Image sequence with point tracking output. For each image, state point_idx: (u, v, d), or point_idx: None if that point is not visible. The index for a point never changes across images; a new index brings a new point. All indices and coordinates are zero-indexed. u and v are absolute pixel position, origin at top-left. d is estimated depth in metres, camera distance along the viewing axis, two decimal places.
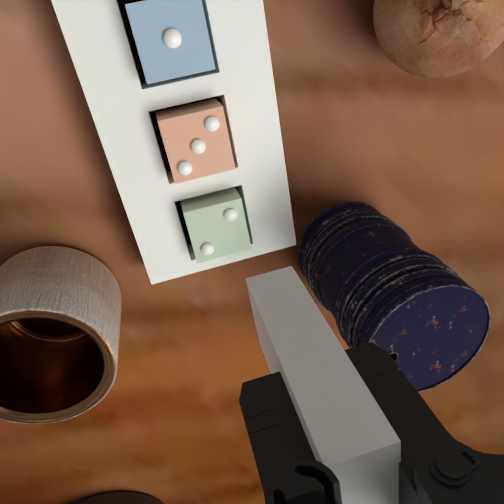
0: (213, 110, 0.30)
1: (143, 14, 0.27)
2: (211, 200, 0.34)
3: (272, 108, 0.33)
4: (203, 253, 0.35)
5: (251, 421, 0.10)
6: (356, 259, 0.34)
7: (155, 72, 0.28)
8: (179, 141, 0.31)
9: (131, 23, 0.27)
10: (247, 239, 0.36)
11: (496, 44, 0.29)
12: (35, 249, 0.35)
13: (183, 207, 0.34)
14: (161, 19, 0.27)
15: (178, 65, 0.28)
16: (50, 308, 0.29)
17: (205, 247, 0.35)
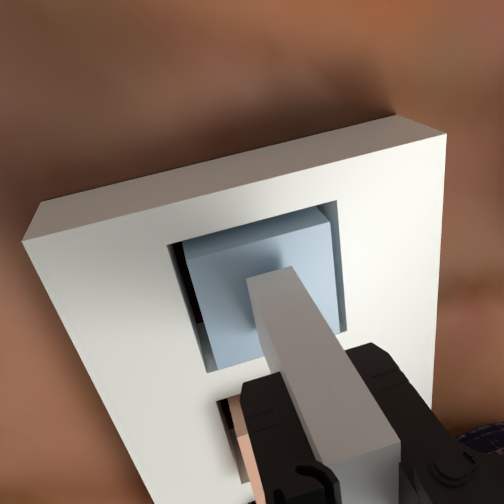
0: None
1: (219, 272, 0.14)
2: None
3: (425, 365, 0.19)
4: None
5: (251, 421, 0.10)
6: None
7: (234, 351, 0.15)
8: None
9: (196, 287, 0.14)
10: None
11: None
12: None
13: None
14: (253, 275, 0.14)
15: None
16: None
17: None
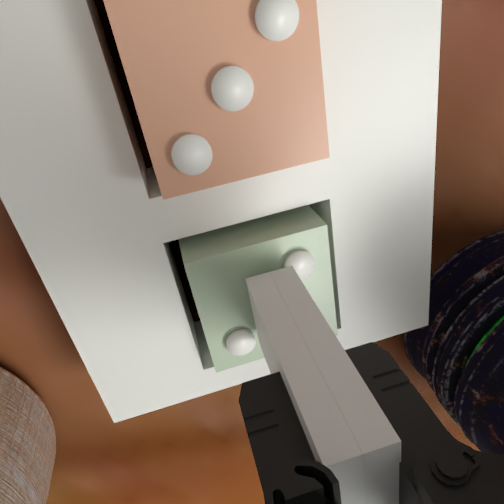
0: None
1: None
2: (252, 228, 0.14)
3: None
4: (230, 350, 0.15)
5: (250, 421, 0.10)
6: None
7: None
8: (176, 72, 0.10)
9: None
10: (331, 316, 0.16)
11: None
12: None
13: (184, 247, 0.14)
14: None
15: None
16: None
17: (236, 339, 0.15)
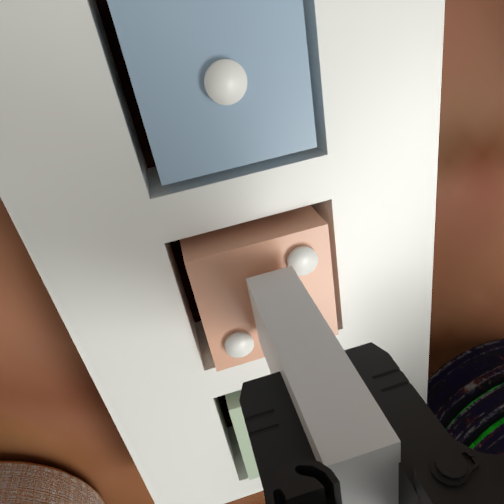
0: (307, 233, 0.14)
1: (154, 25, 0.10)
2: None
3: (425, 220, 0.15)
4: None
5: (251, 421, 0.10)
6: None
7: (181, 159, 0.12)
8: (231, 297, 0.14)
9: (124, 47, 0.10)
10: None
11: None
12: None
13: None
14: (200, 36, 0.11)
15: (236, 142, 0.12)
16: None
17: None
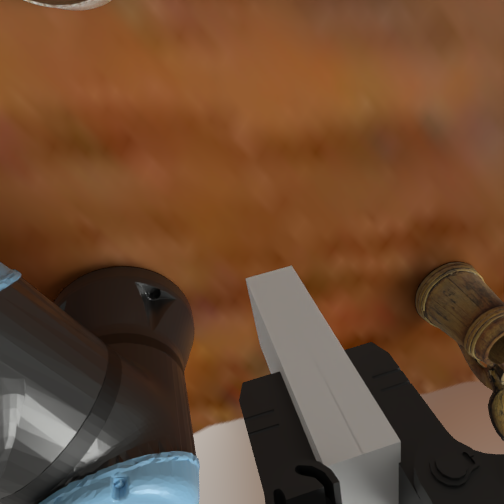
0: None
1: None
2: None
3: None
4: None
5: (251, 421, 0.10)
6: None
7: None
8: None
9: None
10: None
11: None
12: None
13: None
14: None
15: None
16: None
17: None
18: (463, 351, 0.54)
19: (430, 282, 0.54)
